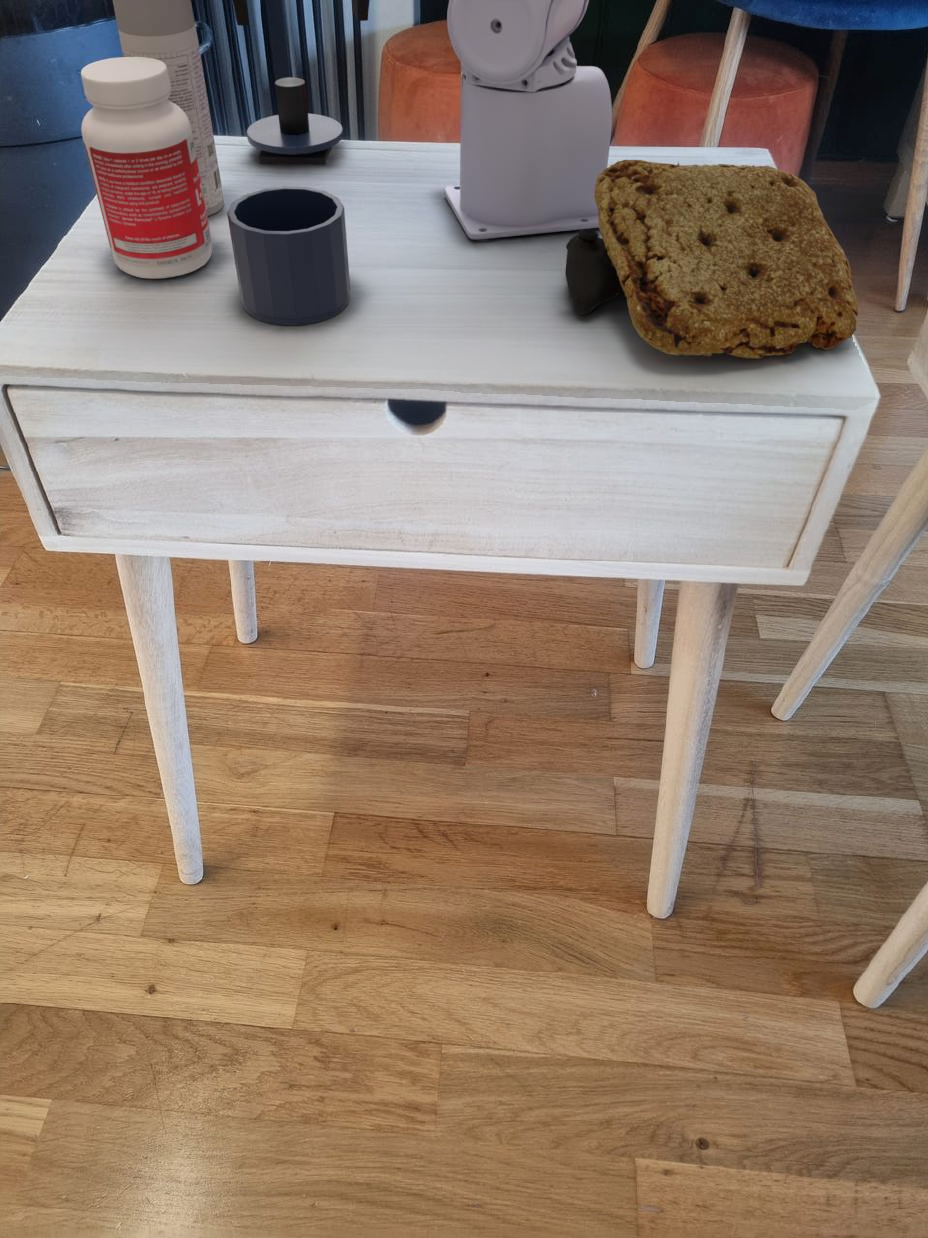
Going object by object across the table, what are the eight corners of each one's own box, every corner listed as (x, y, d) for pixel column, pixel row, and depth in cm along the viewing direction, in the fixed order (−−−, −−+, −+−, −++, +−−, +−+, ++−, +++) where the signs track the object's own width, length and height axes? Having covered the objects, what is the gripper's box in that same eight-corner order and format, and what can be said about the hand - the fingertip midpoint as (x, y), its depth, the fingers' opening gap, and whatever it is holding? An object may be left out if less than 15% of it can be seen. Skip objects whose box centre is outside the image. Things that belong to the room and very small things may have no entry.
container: (185, 186, 71) (139, -64, 60) (238, 200, 69) (199, -55, 58) (141, 210, 68) (83, -49, 57) (194, 225, 66) (145, -38, 56)
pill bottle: (229, 266, 62) (197, 73, 54) (135, 291, 60) (87, 93, 52) (191, 230, 66) (155, 44, 58) (101, 252, 63) (51, 61, 55)
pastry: (896, 272, 60) (926, 235, 58) (772, 443, 53) (800, 410, 50) (667, 115, 62) (686, 72, 59) (514, 259, 54) (528, 217, 52)
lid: (349, 128, 78) (345, 67, 75) (336, 164, 73) (331, 99, 69) (258, 126, 78) (250, 64, 75) (239, 161, 73) (230, 96, 70)
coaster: (334, 140, 77) (334, 133, 77) (325, 165, 74) (324, 158, 73) (271, 138, 77) (270, 131, 77) (259, 163, 74) (258, 156, 74)
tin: (356, 275, 61) (349, 187, 58) (342, 327, 57) (334, 235, 53) (254, 272, 62) (241, 184, 58) (232, 323, 57) (216, 231, 53)
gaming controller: (577, 314, 57) (570, 222, 56) (554, 322, 61) (547, 237, 60) (720, 299, 58) (716, 209, 57) (687, 308, 63) (682, 225, 62)
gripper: (394, -266, 59) (399, -3, 68) (142, -270, 56) (184, 5, 66) (419, -254, 54) (420, 27, 63) (145, -258, 51) (190, 37, 61)
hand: (301, 18), depth 64 cm, fingers open, 7 cm apart
